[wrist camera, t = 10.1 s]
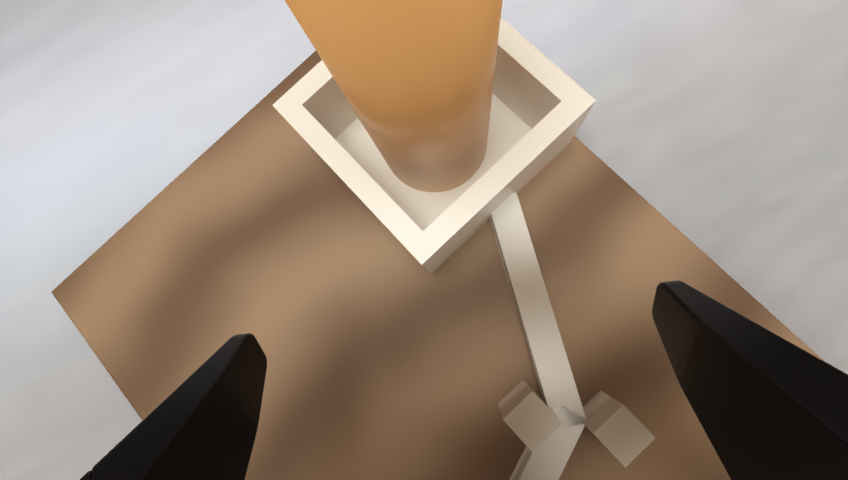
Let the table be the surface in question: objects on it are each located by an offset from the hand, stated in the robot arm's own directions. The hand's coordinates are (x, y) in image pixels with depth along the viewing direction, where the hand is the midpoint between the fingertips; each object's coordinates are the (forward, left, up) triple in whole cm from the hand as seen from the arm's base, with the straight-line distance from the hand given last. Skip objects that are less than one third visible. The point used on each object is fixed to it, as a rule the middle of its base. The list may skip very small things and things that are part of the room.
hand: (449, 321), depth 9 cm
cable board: (+1, +2, -9) cm, 10 cm away
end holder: (+6, -4, -8) cm, 11 cm away
